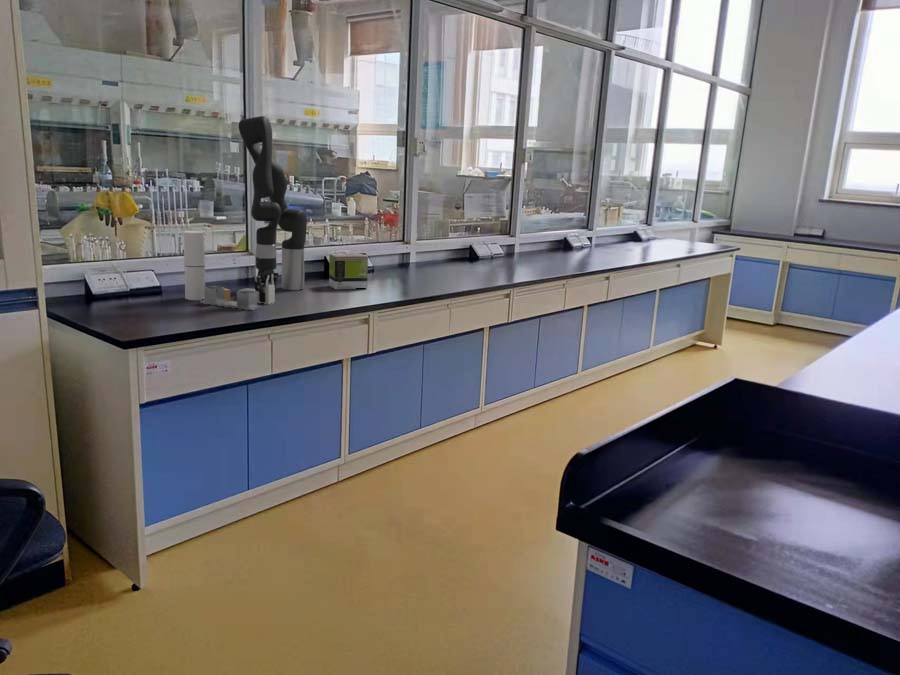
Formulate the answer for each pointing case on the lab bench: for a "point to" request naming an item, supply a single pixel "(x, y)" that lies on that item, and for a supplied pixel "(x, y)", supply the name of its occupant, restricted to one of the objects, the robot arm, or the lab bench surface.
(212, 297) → the rail
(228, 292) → the terminal block
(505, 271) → the lab bench surface
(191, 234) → the cylindrical container
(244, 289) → the supply block
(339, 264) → the tea box
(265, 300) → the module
